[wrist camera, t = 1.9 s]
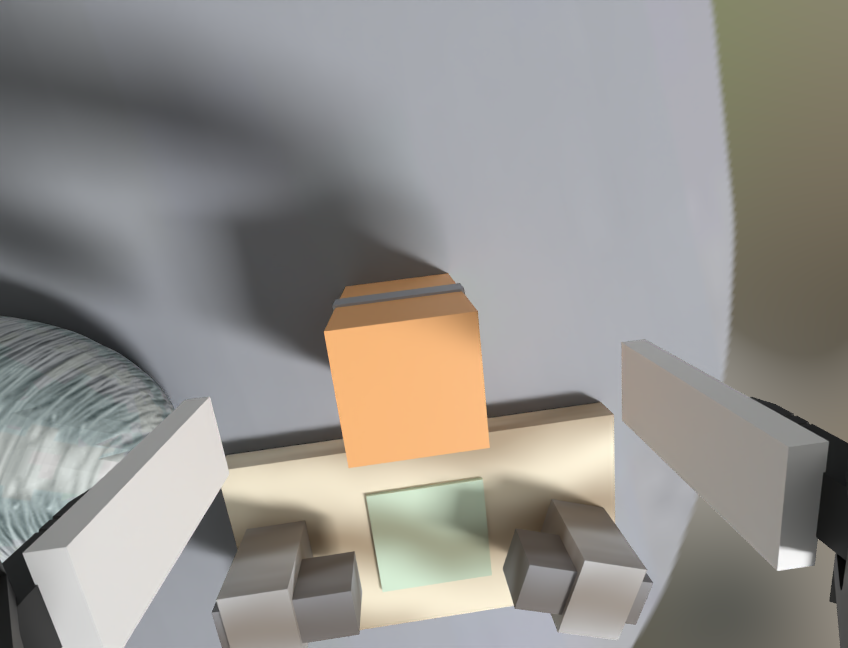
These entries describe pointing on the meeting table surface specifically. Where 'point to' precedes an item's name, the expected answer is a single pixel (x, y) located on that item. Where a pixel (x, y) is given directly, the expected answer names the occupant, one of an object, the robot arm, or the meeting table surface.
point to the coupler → (407, 370)
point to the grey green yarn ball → (63, 420)
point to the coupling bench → (430, 535)
